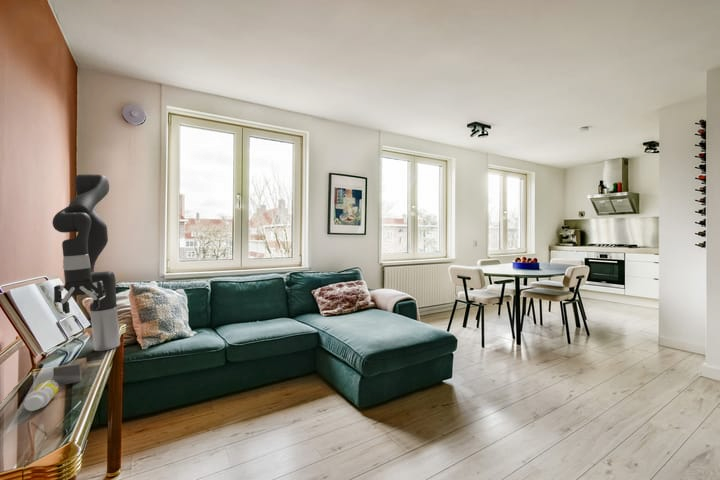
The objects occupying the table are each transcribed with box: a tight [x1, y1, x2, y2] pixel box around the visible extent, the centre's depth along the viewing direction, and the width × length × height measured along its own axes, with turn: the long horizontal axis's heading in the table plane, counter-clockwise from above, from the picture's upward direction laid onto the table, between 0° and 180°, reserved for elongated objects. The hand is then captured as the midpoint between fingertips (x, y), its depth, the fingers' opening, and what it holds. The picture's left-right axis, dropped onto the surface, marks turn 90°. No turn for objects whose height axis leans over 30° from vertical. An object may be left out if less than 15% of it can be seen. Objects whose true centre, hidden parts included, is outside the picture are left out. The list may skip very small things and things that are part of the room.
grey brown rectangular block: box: [52, 357, 88, 386], centre depth 120 cm, size 13×7×6 cm, turn 23°
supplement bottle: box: [23, 379, 60, 412], centre depth 100 cm, size 6×6×10 cm
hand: (81, 311), depth 124 cm, fingers open, 8 cm apart
